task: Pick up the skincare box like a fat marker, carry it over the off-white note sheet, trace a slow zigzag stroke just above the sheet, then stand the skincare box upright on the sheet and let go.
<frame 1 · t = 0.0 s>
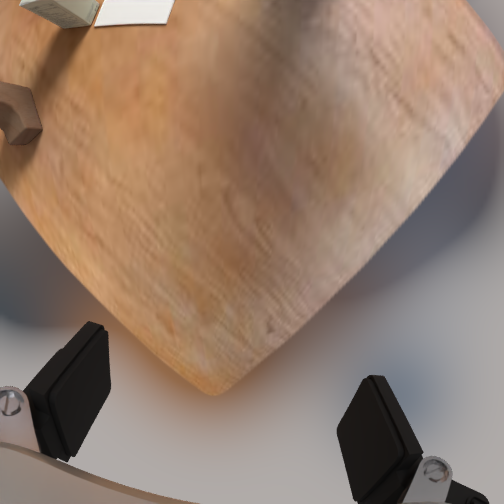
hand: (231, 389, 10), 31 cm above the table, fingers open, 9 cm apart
wooden block: (28, 115, 35), on the table
skincare box: (80, 16, 31), on the table
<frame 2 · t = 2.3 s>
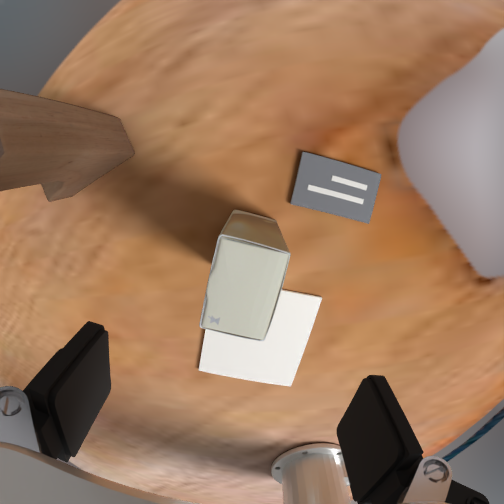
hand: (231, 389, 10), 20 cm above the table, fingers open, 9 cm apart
slate prompt card: (336, 188, 28), on the table
note sheet: (256, 336, 32), on the table
wooden block: (94, 158, 27), on the table
skincare box: (247, 242, 30), on the table
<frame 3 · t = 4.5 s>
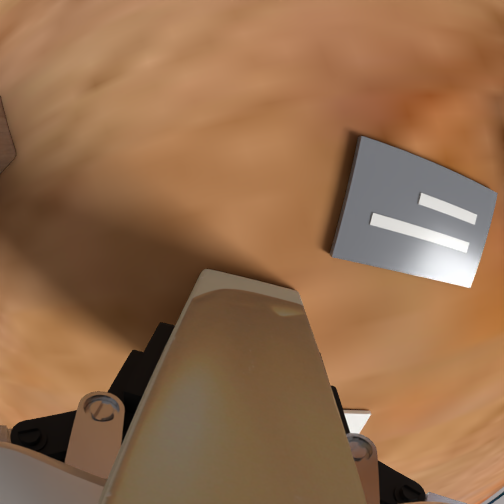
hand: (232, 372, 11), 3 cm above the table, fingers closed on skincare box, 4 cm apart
slate prompt card: (424, 219, 12), on the table
note sheet: (255, 462, 16), on the table
skincare box: (236, 333, 14), on the table, touching gripper
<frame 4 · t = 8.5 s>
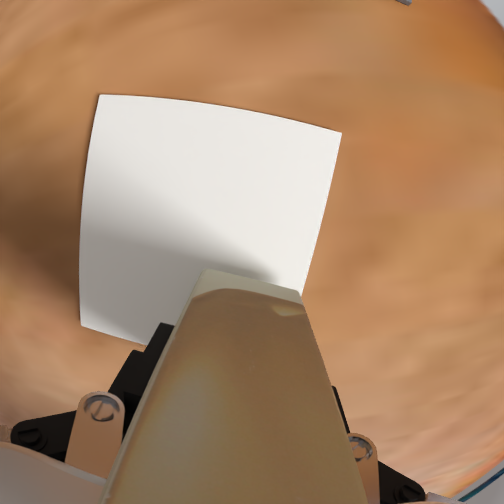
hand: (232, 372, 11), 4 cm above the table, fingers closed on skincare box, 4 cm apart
note sheet: (188, 239, 14), on the table
skincare box: (236, 333, 14), point 1 cm above the table, touching gripper
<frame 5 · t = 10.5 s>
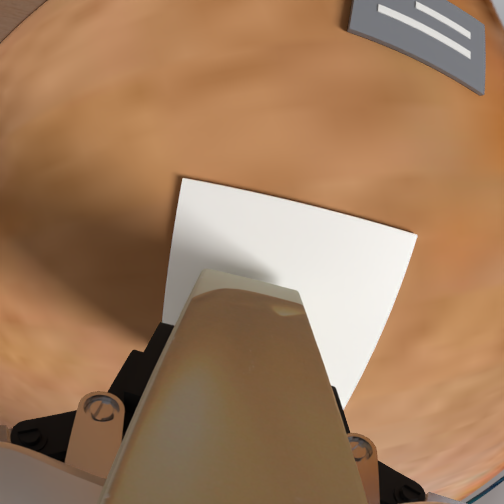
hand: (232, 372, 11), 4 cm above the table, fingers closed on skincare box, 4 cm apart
slate prompt card: (424, 24, 10), on the table
note sheet: (276, 325, 15), on the table
wooden block: (11, 14, 10), on the table
skincare box: (236, 333, 14), point 1 cm above the table, touching gripper
when the fingers open (4 cm above the table, at t = 12.3 s): skincare box stays where it is, resting on note sheet.
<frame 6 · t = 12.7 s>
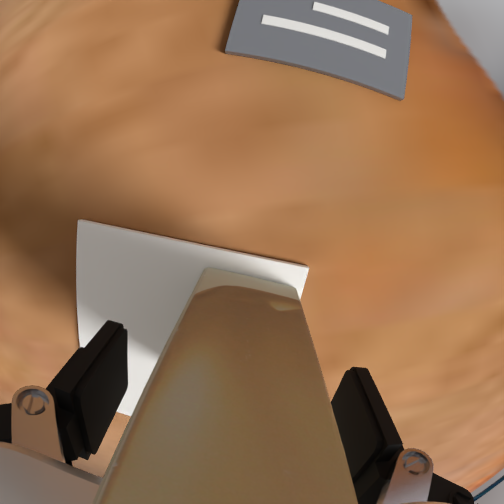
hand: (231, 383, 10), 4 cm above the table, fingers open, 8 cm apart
slate prompt card: (326, 27, 11), on the table
note sheet: (172, 351, 15), on the table
skincare box: (237, 328, 14), resting on note sheet
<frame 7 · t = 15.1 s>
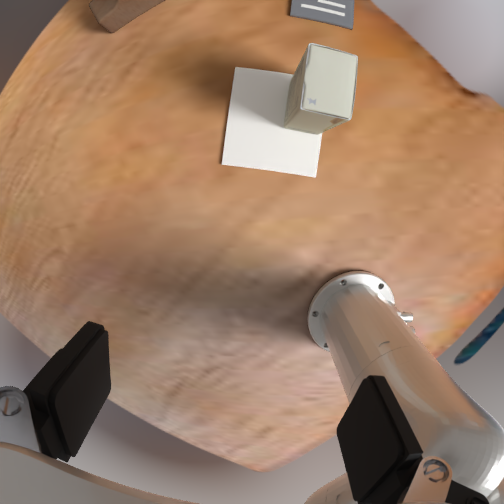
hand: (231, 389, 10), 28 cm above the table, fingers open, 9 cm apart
slate prompt card: (322, 7, 28), on the table
note sheet: (276, 120, 33), on the table
wooden block: (135, 6, 28), on the table
skincare box: (304, 106, 33), resting on note sheet
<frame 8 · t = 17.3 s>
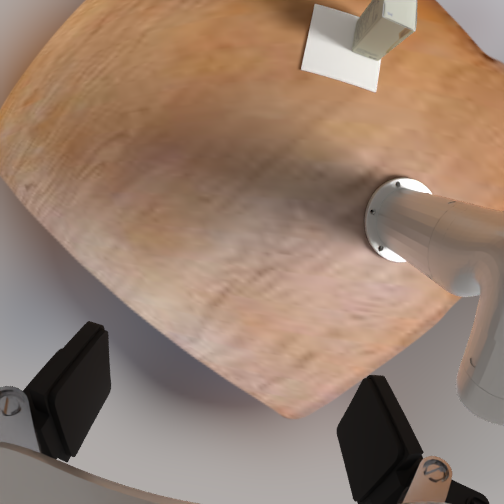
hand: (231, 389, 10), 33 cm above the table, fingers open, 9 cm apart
note sheet: (345, 45, 35), on the table
skincare box: (367, 40, 34), resting on note sheet
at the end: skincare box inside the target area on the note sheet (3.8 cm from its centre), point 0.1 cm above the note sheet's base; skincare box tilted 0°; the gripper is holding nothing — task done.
